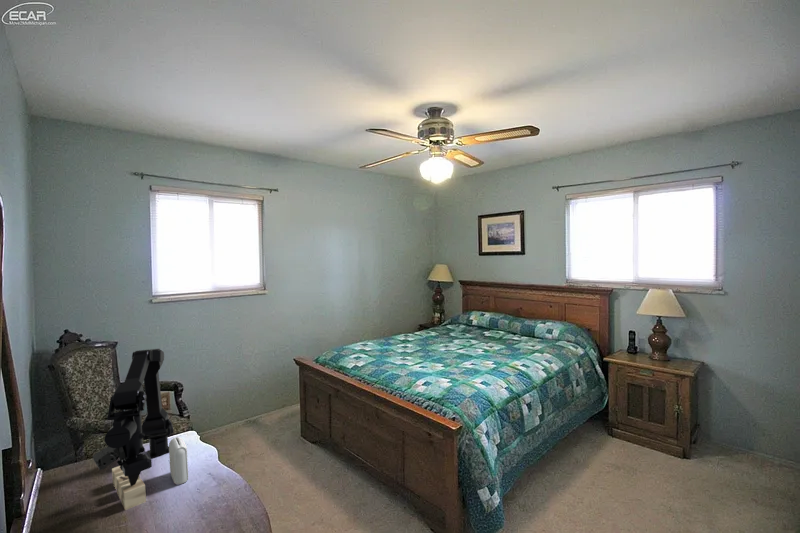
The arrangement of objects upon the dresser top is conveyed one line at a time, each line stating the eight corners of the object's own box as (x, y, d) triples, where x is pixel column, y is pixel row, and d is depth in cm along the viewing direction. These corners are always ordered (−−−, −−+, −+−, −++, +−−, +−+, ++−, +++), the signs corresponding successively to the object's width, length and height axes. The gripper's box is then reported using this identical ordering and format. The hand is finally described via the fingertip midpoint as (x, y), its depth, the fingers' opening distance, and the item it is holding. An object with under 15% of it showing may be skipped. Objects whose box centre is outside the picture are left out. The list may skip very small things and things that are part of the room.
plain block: (121, 503, 110) (120, 486, 110) (141, 494, 113) (141, 478, 113) (125, 510, 106) (124, 493, 106) (146, 502, 110) (145, 485, 110)
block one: (112, 484, 120) (111, 468, 119) (131, 477, 123) (130, 461, 123) (115, 490, 116) (114, 474, 116) (135, 483, 120) (134, 467, 120)
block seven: (117, 493, 115) (116, 476, 115) (136, 485, 118) (135, 469, 118) (120, 500, 111) (119, 483, 111) (140, 492, 115) (139, 475, 115)
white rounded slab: (169, 473, 125) (167, 436, 124) (183, 468, 127) (182, 432, 127) (174, 487, 117) (172, 447, 116) (189, 481, 119) (188, 443, 119)
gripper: (89, 432, 110) (92, 484, 110) (100, 454, 97) (103, 513, 97) (135, 419, 118) (138, 468, 118) (150, 438, 105) (153, 492, 105)
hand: (132, 484), depth 110 cm, fingers closed
